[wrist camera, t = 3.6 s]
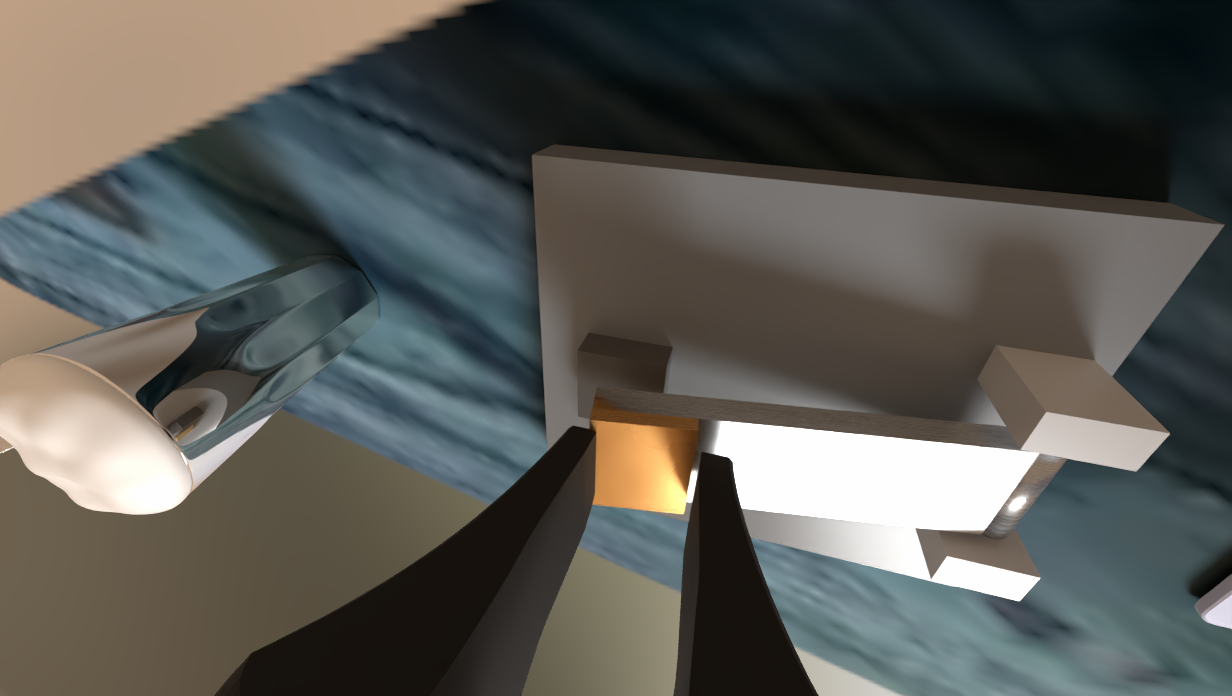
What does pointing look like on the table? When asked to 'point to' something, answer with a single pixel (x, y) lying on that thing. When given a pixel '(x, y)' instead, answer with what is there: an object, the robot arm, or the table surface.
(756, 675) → the robot arm
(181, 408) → the milkshake
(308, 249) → the table surface
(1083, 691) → the table surface
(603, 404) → the latch bar
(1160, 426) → the base board
